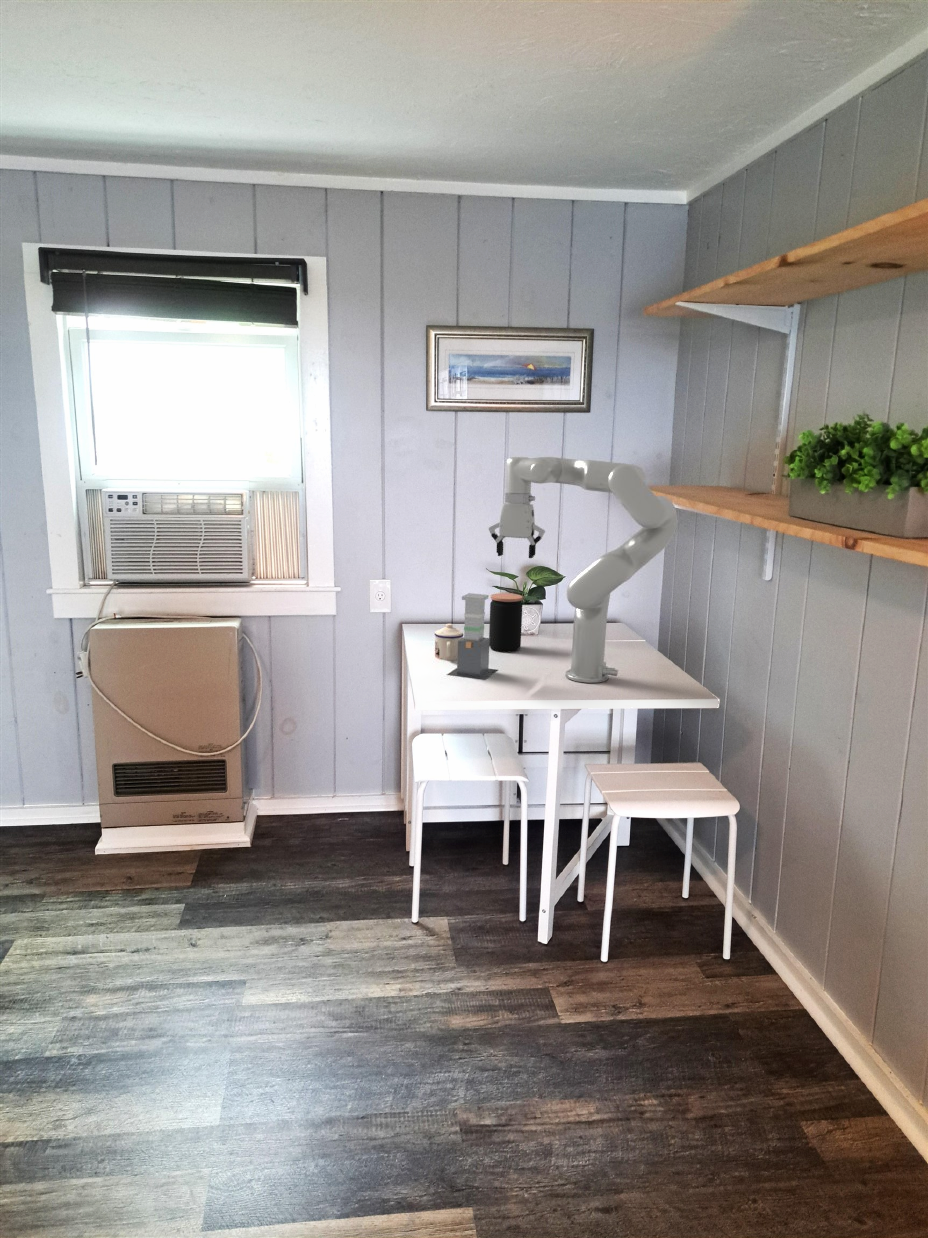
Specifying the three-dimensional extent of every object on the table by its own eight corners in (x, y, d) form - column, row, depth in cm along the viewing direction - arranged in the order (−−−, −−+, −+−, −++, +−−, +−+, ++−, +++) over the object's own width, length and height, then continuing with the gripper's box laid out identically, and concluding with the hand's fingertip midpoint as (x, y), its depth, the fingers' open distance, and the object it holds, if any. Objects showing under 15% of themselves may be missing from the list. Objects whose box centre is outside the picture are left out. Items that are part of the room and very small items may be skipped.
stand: (498, 673, 252) (499, 637, 249) (485, 684, 241) (486, 646, 238) (461, 668, 256) (462, 633, 253) (446, 678, 245) (447, 641, 242)
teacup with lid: (434, 656, 269) (435, 620, 267) (462, 657, 270) (463, 621, 267) (433, 666, 258) (434, 629, 255) (463, 667, 258) (464, 630, 255)
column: (486, 651, 248) (488, 595, 245) (479, 656, 243) (481, 598, 239) (467, 649, 250) (469, 593, 247) (460, 653, 245) (461, 596, 241)
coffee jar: (521, 645, 286) (523, 593, 283) (519, 653, 276) (522, 599, 272) (489, 644, 287) (491, 592, 284) (487, 651, 277) (489, 598, 273)
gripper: (549, 500, 250) (546, 557, 253) (493, 497, 256) (492, 553, 259) (542, 501, 243) (540, 560, 247) (486, 498, 249) (484, 556, 252)
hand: (515, 556), depth 253 cm, fingers open, 9 cm apart
